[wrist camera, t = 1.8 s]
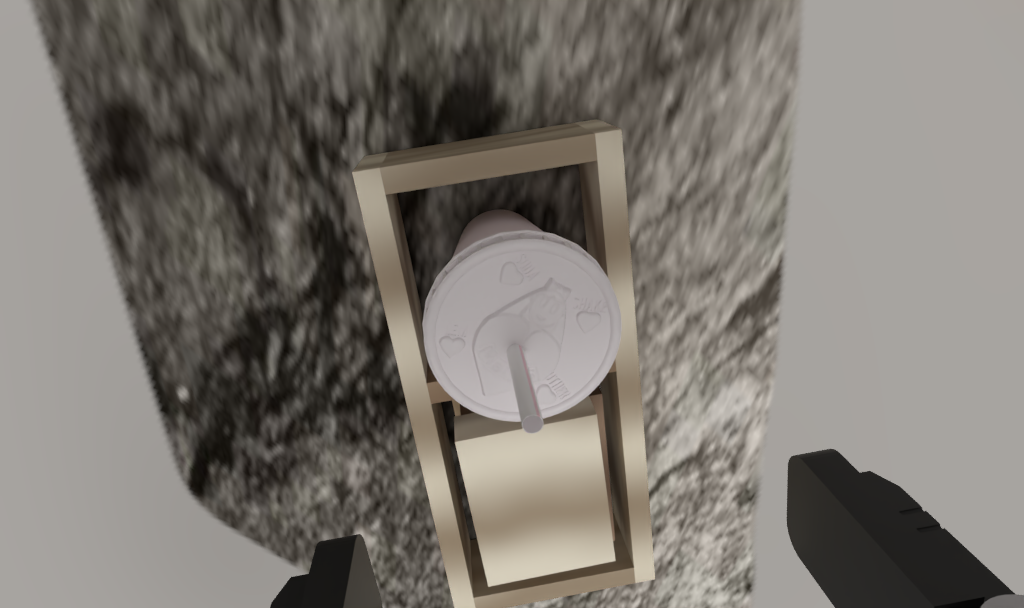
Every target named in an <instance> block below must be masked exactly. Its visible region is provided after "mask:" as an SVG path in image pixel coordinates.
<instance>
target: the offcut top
mask: <svg viewBox="0 0 1024 608" xmlns="http://www.w3.org/2000/svg"><path fill="white" fill-rule="evenodd" d="M543 422H544V425H543V428H542V429H541V430H540V431H539V432H537V433H533V434H530V433H527V432H525V431H524V430H523V428H522V424H521V422H513V421H502V420H496V419H492V418H488V417H485V416H482V415H480V414H477V413H470V414H465V415H460V416H455V417H454V430H455V445H456V449H457V454H458V458H459V462H460V467H461V471H462V475H463V480H464V484H465V488H466V492H467V497H468V501H469V505H470V510H471V514H472V518H473V523H474V527H475V531H476V536H477V540H478V544H479V549H480V553H481V557H482V562H483V566H484V570H485V575H486V579H487V583H488V587H490V586H495V585H500V584H505V583H510V582H514V581H519V580H524V579H529V578H534V577H539V576H544V575H549V574H554V573H559V572H564V571H569V570H574V569H578V568H583V567H588V566H593V565H598V564H603V563H608V562H613V561H616V560H615V552H614V544H613V537H612V529H611V521H610V513H609V506H608V498H607V490H606V482H605V474H604V467H603V459H602V451H601V443H600V435H599V428H598V420H597V414H596V411H595V409H594V407H593V404H592V402H591V400H590V397H589V395H588V396H587V397H586V398H585V399H583V400H582V401H581V402H579V403H578V404H576V405H575V406H573V407H571V408H569V409H568V410H565V411H563V412H561V413H559V414H556V415H554V416H551V417H547V418H544V419H543Z"/></svg>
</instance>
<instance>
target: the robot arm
mask: <svg viewBox="0 0 1024 608" xmlns="http://www.w3.org/2000/svg"><path fill="white" fill-rule="evenodd" d="M787 492H788V493H787V527H788V532H789V536H790V539H791V542H792V545H793V547H794V549H795V551H796V553H797V555H798V556H799V558H800V559H801V561H802V562H803V564H804V565H805V566H806V568H807V569H808V570H809V572H810V573H811V575H812V576H813V577H814V579H815V580H816V582H817V583H818V584H819V586H820V587H821V589H822V590H823V591H824V593H825V594H826V596H827V597H828V598H829V600H830V601H831V602H832V604H833V605H834V607H835V608H1024V595H1016V594H1015V593H1013V592H1012V591H1011V590H1010V589H1009V588H1008V587H1007V586H1006V585H1005V584H1004V583H1003V582H1002V581H1000V580H999V579H998V578H997V577H996V576H995V575H994V574H993V573H992V572H991V571H990V570H989V569H987V567H985V566H984V565H983V564H982V563H981V562H980V561H979V560H978V559H977V558H976V557H975V556H974V555H973V554H972V553H970V552H969V551H968V550H967V549H966V548H965V547H964V546H963V545H962V544H961V543H960V542H959V541H958V540H956V539H955V538H954V537H953V536H952V535H951V534H950V533H949V532H948V531H947V530H946V529H942V528H941V527H940V524H939V523H938V522H937V521H936V520H935V519H934V518H933V517H932V516H931V515H930V514H929V513H928V512H926V511H925V512H924V511H923V510H922V507H921V506H920V505H919V504H918V503H917V502H916V501H915V500H913V498H911V497H910V496H909V495H908V494H907V493H906V492H905V491H904V490H903V489H902V488H901V487H899V486H898V485H896V484H894V483H892V482H890V481H888V480H886V479H884V478H882V477H880V476H878V475H877V474H875V473H873V472H871V471H867V472H862V473H859V472H858V471H857V470H856V469H855V468H854V467H853V466H852V465H851V464H850V463H849V462H848V461H847V460H846V459H845V458H844V457H843V456H842V455H841V454H840V453H839V452H838V451H836V450H834V449H827V450H822V451H817V452H811V453H806V454H800V455H795V456H792V457H791V458H790V460H789V463H788V491H787ZM270 608H382V602H381V597H380V593H379V590H378V586H377V583H376V580H375V576H374V573H373V569H372V566H371V562H370V559H369V555H368V552H367V548H366V545H365V542H364V539H363V537H362V536H361V535H360V534H358V535H353V536H347V537H342V538H336V539H331V540H326V541H320V542H319V543H318V544H317V546H316V549H315V553H314V557H313V560H312V564H311V568H310V572H309V574H306V575H300V576H295V577H291V578H290V579H289V580H288V582H287V583H286V585H285V586H284V587H283V589H282V590H281V591H280V592H279V594H278V595H277V596H276V598H275V599H274V600H273V602H272V604H271V607H270Z"/></svg>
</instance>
